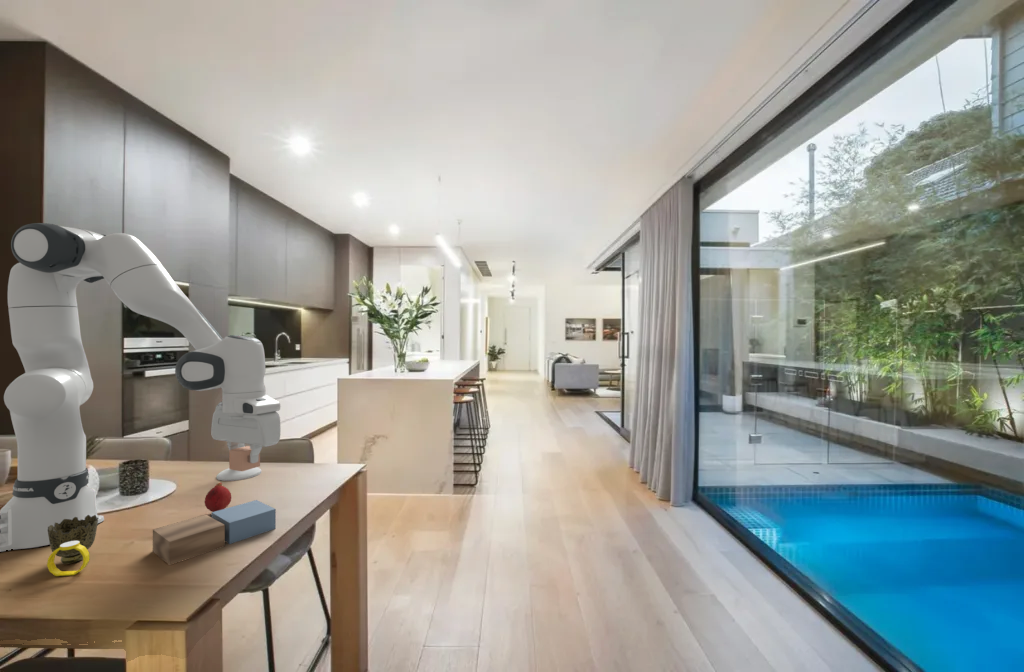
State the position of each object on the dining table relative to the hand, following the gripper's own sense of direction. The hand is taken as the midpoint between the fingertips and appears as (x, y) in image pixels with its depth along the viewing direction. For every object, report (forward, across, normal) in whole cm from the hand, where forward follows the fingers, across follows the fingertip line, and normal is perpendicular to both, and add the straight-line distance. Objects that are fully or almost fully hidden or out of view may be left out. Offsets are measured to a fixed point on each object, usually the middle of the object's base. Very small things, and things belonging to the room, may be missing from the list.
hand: (244, 461), depth 105 cm
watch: (+16, -12, -27) cm, 34 cm away
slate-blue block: (+17, 0, 0) cm, 17 cm away
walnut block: (+17, -2, -11) cm, 20 cm away
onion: (+17, -16, +4) cm, 23 cm away
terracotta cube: (+2, 0, 0) cm, 2 cm away
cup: (+16, -18, -24) cm, 34 cm away
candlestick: (+17, -43, +28) cm, 54 cm away
